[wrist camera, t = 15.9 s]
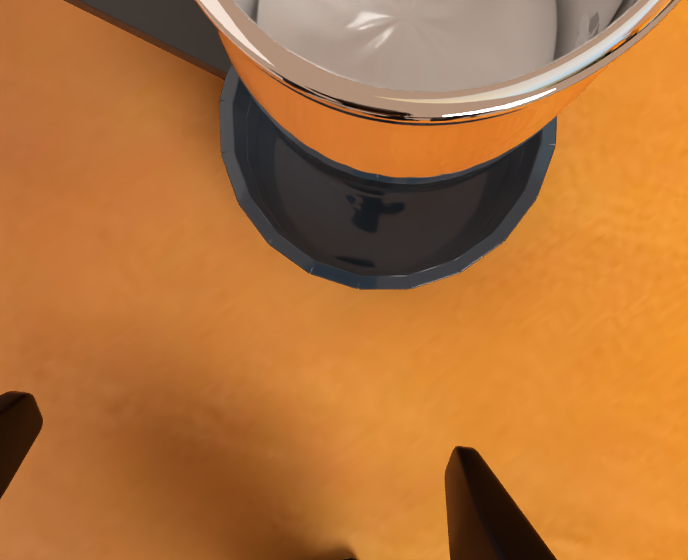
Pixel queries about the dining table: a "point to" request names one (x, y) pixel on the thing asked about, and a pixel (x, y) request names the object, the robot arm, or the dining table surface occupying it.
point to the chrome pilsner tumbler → (419, 81)
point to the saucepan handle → (166, 28)
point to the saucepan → (364, 229)
